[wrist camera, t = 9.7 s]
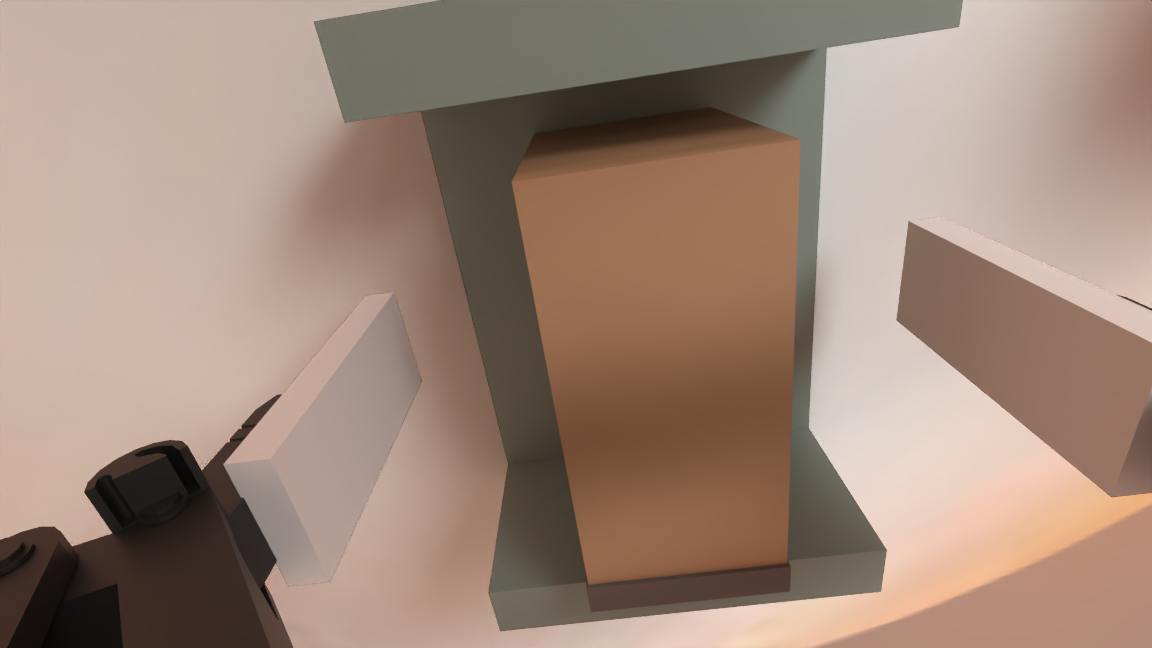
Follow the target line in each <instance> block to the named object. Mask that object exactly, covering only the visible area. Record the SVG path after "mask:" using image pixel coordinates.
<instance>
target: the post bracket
mask: <svg viewBox="0 0 1152 648" xmlns="http://www.w3.org/2000/svg"><path fill="white" fill-rule="evenodd" d="M962 2H963V0H441V1H435V2H429V3H423V4H417V5H411V6H405V7H399V8H393V9H387V10H381V11H374V12H368V13H362V14H356V15H350V16H344V17H338V18H332V19H326V20H320V21H314V24H315V27H316V31H317V34H318V37H319V40H320V44H321V47H322V50H323V53H324V57H325V60H326V63H327V67H328V70H329V73H330V76H331V80H332V83H333V86H334V89H335V93H336V96H337V99H338V102H339V106H340V109H341V112H342V116H343V119H344V122H352V121H358V120H365V119H371V118H378V117H384V116H390V115H397V114H403V113H410V112H416V111H421V114H422V118H423V122H424V126H425V130H426V134H427V138H428V142H429V146H430V150H431V154H432V158H433V162H434V166H435V170H436V174H437V178H438V182H439V186H440V190H441V195H442V199H443V203H444V207H445V211H446V215H447V219H448V223H449V227H450V231H451V235H452V239H453V243H454V247H455V251H456V255H457V259H458V263H459V267H460V271H461V275H462V279H463V283H464V287H465V291H466V295H467V300H468V304H469V308H470V312H471V316H472V320H473V324H474V328H475V332H476V336H477V340H478V344H479V348H480V352H481V356H482V360H483V364H484V368H485V372H486V376H487V380H488V384H489V388H490V392H491V396H492V400H493V405H494V409H495V413H496V417H497V421H498V425H499V429H500V433H501V437H502V441H503V445H504V449H505V453H506V457H507V461H508V468H507V475H506V482H505V488H504V495H503V501H502V508H501V514H500V521H499V528H498V534H497V541H496V547H495V554H494V560H493V567H492V574H491V580H490V587H489V596H490V599H491V602H492V606H493V609H494V612H495V615H496V619H497V622H498V625H499V629H500V631H506V630H516V629H525V628H535V627H544V626H554V625H564V624H573V623H583V622H593V621H602V620H612V619H622V618H631V617H641V616H650V615H660V614H670V613H679V612H689V611H699V610H708V609H718V608H728V607H737V606H747V605H756V604H766V603H776V602H785V601H795V600H805V599H814V598H824V597H833V596H843V595H853V594H862V593H872V592H881V587H882V580H883V573H884V566H885V558H886V551H887V550H886V548H885V547H884V545H883V543H882V542H881V540H880V539H879V537H878V536H877V534H876V532H875V531H874V529H873V528H872V526H871V525H870V523H869V522H868V520H867V518H866V517H865V515H864V514H863V512H862V511H861V509H860V508H859V506H858V504H857V503H856V501H855V500H854V498H853V497H852V495H851V493H850V492H849V490H848V489H847V487H846V486H845V484H844V483H843V481H842V479H841V478H840V476H839V475H838V473H837V472H836V470H835V468H834V467H833V465H832V464H831V462H830V461H829V459H828V458H827V456H826V454H825V453H824V451H823V450H822V448H821V447H820V445H819V443H818V442H817V440H816V439H815V437H814V436H813V434H812V433H811V431H810V429H809V407H810V386H811V365H812V344H813V323H814V302H815V281H816V260H817V239H818V218H819V197H820V176H821V155H822V134H823V113H824V92H825V71H826V50H827V48H828V47H834V46H840V45H847V44H853V43H860V42H866V41H872V40H879V39H885V38H892V37H898V36H905V35H911V34H917V33H924V32H930V31H937V30H943V29H950V28H956V27H959V24H960V17H961V9H962ZM708 107H713V108H715V109H718V110H721V111H724V112H726V113H729V114H732V115H735V116H737V117H740V118H743V119H746V120H748V121H751V122H754V123H757V124H759V125H762V126H765V127H768V128H770V129H773V130H776V131H779V132H781V133H784V134H787V135H790V136H792V137H795V138H798V139H801V146H800V178H799V209H798V240H797V272H796V303H795V334H794V366H793V397H792V428H791V459H790V491H789V522H788V553H787V559H788V561H789V563H790V566H791V581H790V592H781V593H772V594H762V595H753V596H743V597H733V598H724V599H714V600H705V601H695V602H685V603H676V604H666V605H657V606H647V607H638V608H628V609H618V610H609V611H599V612H591V610H590V605H589V600H588V595H587V590H586V570H585V564H584V559H583V554H582V549H581V543H580V538H579V533H578V528H577V522H576V517H575V512H574V507H573V501H572V496H571V491H570V486H569V480H568V475H567V470H566V465H565V459H564V454H563V449H562V444H561V438H560V433H559V428H558V423H557V417H556V412H555V407H554V402H553V396H552V391H551V386H550V381H549V375H548V370H547V365H546V360H545V354H544V349H543V344H542V339H541V333H540V328H539V323H538V318H537V312H536V307H535V302H534V297H533V291H532V286H531V281H530V276H529V270H528V265H527V260H526V255H525V249H524V244H523V239H522V234H521V228H520V223H519V218H518V213H517V207H516V202H515V197H514V192H513V186H512V180H513V178H514V176H515V174H516V172H517V169H518V167H519V165H520V163H521V161H522V159H523V156H524V154H525V152H526V150H527V148H528V146H529V144H530V141H531V139H532V137H533V135H534V134H536V133H543V132H550V131H556V130H563V129H569V128H576V127H583V126H589V125H596V124H602V123H609V122H616V121H622V120H629V119H636V118H642V117H649V116H655V115H662V114H669V113H675V112H682V111H689V110H695V109H702V108H708Z"/></svg>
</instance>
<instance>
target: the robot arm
mask: <svg viewBox="0 0 1152 648" xmlns="http://www.w3.org/2000/svg"><path fill="white" fill-rule="evenodd" d="M897 321H898V322H899V323H900V324H902V325H903V326H904V327H905V328H907V329H908V330H909V331H910V332H911V333H913V334H914V335H915V336H916V337H917V338H919V339H920V340H921V341H922V342H924V343H925V344H926V345H927V346H928V347H930V348H931V349H932V350H933V351H934V352H936V353H937V354H938V355H939V356H941V357H942V358H943V359H944V360H945V361H947V362H948V363H949V364H950V365H951V366H953V367H954V368H955V369H956V370H958V371H959V372H960V373H961V374H962V375H964V376H965V377H966V378H967V379H968V380H970V381H971V382H972V383H973V384H975V385H976V386H977V387H978V388H979V389H981V390H982V391H983V392H984V393H985V394H987V395H988V396H989V397H990V398H992V399H993V400H994V401H995V402H996V403H998V404H999V405H1000V406H1001V407H1002V408H1004V409H1005V410H1006V411H1007V412H1009V413H1010V414H1011V415H1012V416H1013V417H1015V418H1016V419H1017V420H1018V421H1019V422H1021V423H1022V424H1023V425H1024V426H1026V427H1027V428H1028V429H1029V430H1030V431H1032V432H1033V433H1034V434H1035V435H1036V436H1038V437H1039V438H1040V439H1041V440H1043V441H1044V442H1045V443H1046V444H1047V445H1049V446H1050V447H1051V448H1052V449H1053V450H1055V451H1056V452H1057V453H1058V454H1060V455H1061V456H1062V457H1063V458H1064V459H1066V460H1067V461H1068V462H1069V463H1070V464H1072V465H1073V466H1074V467H1075V468H1077V469H1078V470H1079V471H1080V472H1081V473H1083V474H1084V475H1085V476H1086V477H1087V478H1089V479H1090V480H1091V481H1092V482H1094V483H1095V484H1096V485H1097V486H1098V487H1100V488H1101V489H1102V490H1103V491H1104V492H1106V493H1107V494H1108V495H1109V496H1111V497H1118V496H1128V495H1137V494H1146V493H1152V309H1151V308H1149V307H1147V306H1145V305H1142V304H1140V303H1138V302H1136V301H1133V300H1131V299H1129V298H1127V297H1123V296H1119V295H1115V294H1113V293H1111V292H1108V291H1106V290H1104V289H1102V288H1099V287H1097V286H1095V285H1093V284H1090V283H1088V282H1086V281H1084V280H1081V279H1079V278H1077V277H1075V276H1072V275H1070V274H1068V273H1066V272H1063V271H1061V270H1059V269H1057V268H1054V267H1052V266H1050V265H1048V264H1046V263H1043V262H1041V261H1039V260H1037V259H1034V258H1032V257H1030V256H1028V255H1025V254H1023V253H1021V252H1019V251H1016V250H1014V249H1012V248H1010V247H1007V246H1005V245H1003V244H1001V243H998V242H996V241H994V240H992V239H989V238H987V237H985V236H983V235H980V234H978V233H976V232H974V231H971V230H969V229H967V228H965V227H962V226H960V225H958V224H956V223H953V222H951V221H949V220H947V219H944V218H942V217H935V218H928V219H920V220H913V221H909V223H908V231H907V239H906V248H905V256H904V264H903V272H902V280H901V288H900V297H899V305H898V313H897ZM421 382H422V380H421V377H420V373H419V370H418V367H417V364H416V361H415V357H414V354H413V351H412V348H411V344H410V341H409V338H408V335H407V332H406V328H405V325H404V322H403V319H402V315H401V312H400V309H399V306H398V302H397V299H396V296H395V293H394V292H389V293H382V294H374V295H367V296H365V297H364V298H363V300H362V301H361V302H360V303H359V304H358V305H357V307H356V308H355V309H354V310H353V311H352V313H351V314H350V315H349V316H348V317H347V318H346V320H345V321H344V322H343V323H342V324H341V326H340V327H339V328H338V329H337V330H336V331H335V333H334V334H333V335H332V336H331V337H330V339H329V340H328V341H327V342H326V343H325V344H324V346H323V347H322V348H321V349H320V350H319V352H318V353H317V354H316V355H315V356H314V358H313V359H312V360H311V361H310V362H309V363H308V365H307V366H306V367H305V368H304V369H303V371H302V372H301V373H300V374H299V375H298V376H297V378H296V379H295V380H294V381H293V382H292V384H291V385H290V386H289V387H288V388H287V389H286V391H285V392H284V393H283V394H280V395H276V396H275V397H273V398H272V399H271V400H269V401H268V402H266V403H265V404H263V405H262V406H261V407H259V408H258V409H256V410H255V411H254V412H253V414H252V415H251V416H250V417H249V418H248V419H247V420H246V421H245V423H244V424H243V425H242V429H238V431H237V432H236V433H235V434H234V435H233V436H232V437H231V438H230V442H228V443H226V444H225V445H224V446H223V448H222V449H221V450H220V451H219V452H218V453H217V454H216V455H215V457H214V458H213V459H212V460H211V461H210V462H209V463H208V465H207V466H206V467H205V468H204V469H203V470H202V471H201V469H200V467H199V465H198V463H197V462H196V460H195V458H194V456H193V455H192V453H191V451H190V449H189V447H188V446H187V445H186V444H185V443H184V442H182V441H174V440H168V441H163V442H158V443H153V444H150V445H147V446H144V447H142V448H139V449H136V450H134V451H132V452H130V453H128V454H126V455H124V456H122V457H120V458H118V459H116V460H114V461H113V462H112V463H110V464H109V465H107V466H106V467H104V468H103V469H101V470H100V471H99V472H98V473H97V474H96V475H95V476H94V477H93V478H92V479H91V480H90V481H89V482H88V484H87V486H86V489H85V491H84V493H85V494H86V495H87V497H88V498H89V500H90V501H91V503H92V504H93V506H94V507H95V508H96V510H97V511H98V513H99V514H100V516H101V517H102V519H103V520H104V521H105V523H106V524H107V526H108V527H109V529H110V530H111V531H112V533H113V534H110V535H107V536H104V537H100V538H97V539H94V540H91V541H88V542H85V543H82V544H79V545H76V546H73V547H72V546H71V545H70V543H69V542H68V541H67V539H66V538H65V537H64V535H63V534H62V533H61V531H59V530H58V529H56V528H55V527H38V528H34V529H31V530H27V531H23V532H20V533H18V534H16V535H14V536H11V537H9V538H4V539H1V540H0V648H293V646H292V643H291V641H290V639H289V636H288V634H287V631H286V629H285V627H284V624H283V622H282V619H281V617H280V615H279V612H278V610H277V607H276V605H275V603H274V600H273V598H272V596H271V594H270V592H269V590H268V588H267V587H266V585H265V583H264V582H265V581H266V579H267V577H268V576H269V574H270V572H271V570H272V569H273V567H274V565H275V563H276V564H277V566H278V568H279V570H280V572H281V573H282V575H283V577H284V579H285V581H286V583H287V585H288V587H289V586H298V585H307V584H316V583H325V582H331V580H332V578H333V575H334V573H335V571H336V569H337V567H338V564H339V562H340V560H341V558H342V556H343V553H344V551H345V549H346V547H347V545H348V542H349V540H350V538H351V536H352V534H353V531H354V529H355V527H356V525H357V523H358V520H359V518H360V516H361V514H362V512H363V509H364V507H365V505H366V503H367V501H368V498H369V496H370V494H371V492H372V490H373V487H374V485H375V483H376V481H377V479H378V476H379V474H380V472H381V470H382V468H383V465H384V463H385V461H386V459H387V457H388V454H389V452H390V450H391V448H392V446H393V443H394V441H395V439H396V437H397V435H398V432H399V430H400V428H401V426H402V424H403V421H404V419H405V417H406V415H407V413H408V410H409V408H410V406H411V404H412V402H413V399H414V397H415V395H416V393H417V391H418V388H419V386H420V384H421Z"/></svg>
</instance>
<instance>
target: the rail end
mask: <svg viewBox="0 0 1152 648" xmlns="http://www.w3.org/2000/svg"><path fill="white" fill-rule="evenodd" d="M800 146H801V139H798V138H795V137H792V136H790V135H787V134H784V133H781V132H779V131H776V130H773V129H770V128H768V127H765V126H762V125H759V124H757V123H754V122H751V121H748V120H746V119H743V118H740V117H737V116H735V115H732V114H729V113H726V112H724V111H721V110H718V109H715V108H713V107H708V108H702V109H695V110H689V111H682V112H675V113H669V114H662V115H655V116H649V117H642V118H636V119H629V120H622V121H616V122H609V123H602V124H596V125H589V126H583V127H576V128H569V129H563V130H556V131H550V132H543V133H536V134H534V135H533V137H532V139H531V141H530V144H529V146H528V148H527V150H526V152H525V154H524V156H523V159H522V161H521V163H520V165H519V167H518V169H517V172H516V174H515V176H514V178H513V180H512V186H513V192H514V197H515V202H516V207H517V213H518V218H519V223H520V228H521V234H522V239H523V244H524V249H525V255H526V260H527V265H528V270H529V276H530V281H531V286H532V291H533V297H534V302H535V307H536V312H537V318H538V323H539V328H540V333H541V339H542V344H543V349H544V354H545V360H546V365H547V370H548V375H549V381H550V386H551V391H552V396H553V402H554V407H555V412H556V417H557V423H558V428H559V433H560V438H561V444H562V449H563V454H564V459H565V465H566V470H567V475H568V480H569V486H570V491H571V496H572V501H573V507H574V512H575V517H576V522H577V528H578V533H579V538H580V543H581V549H582V554H583V559H584V564H585V570H586V590H587V595H588V600H589V605H590V610H591V612H599V611H609V610H618V609H628V608H638V607H647V606H657V605H666V604H676V603H685V602H695V601H705V600H714V599H724V598H733V597H743V596H753V595H762V594H772V593H781V592H790V581H791V566H790V563H789V561H788V559H787V553H788V522H789V491H790V459H791V428H792V397H793V366H794V334H795V303H796V272H797V240H798V209H799V178H800Z"/></svg>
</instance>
